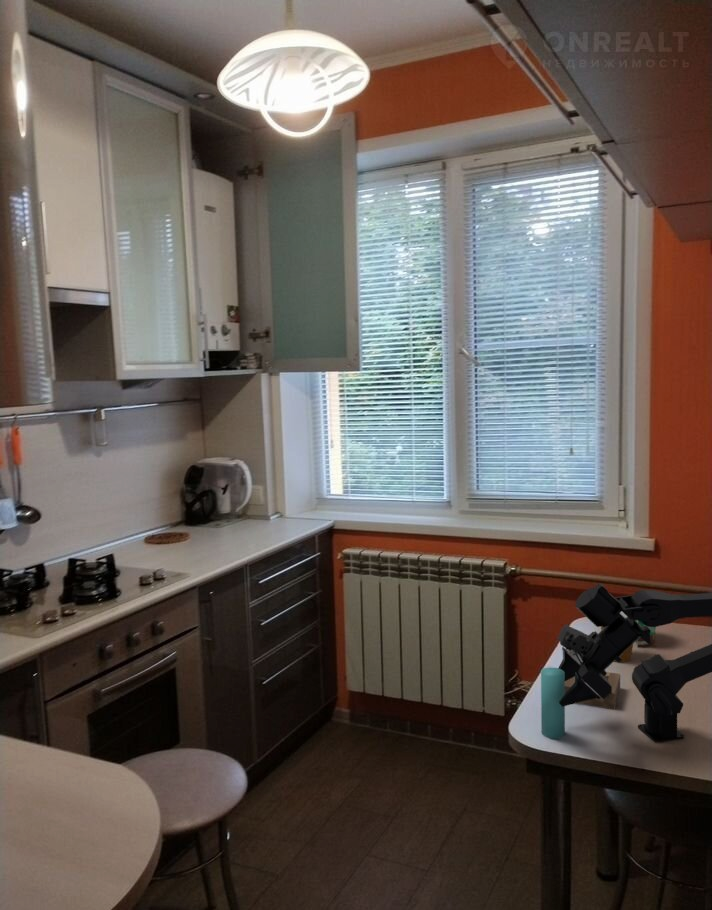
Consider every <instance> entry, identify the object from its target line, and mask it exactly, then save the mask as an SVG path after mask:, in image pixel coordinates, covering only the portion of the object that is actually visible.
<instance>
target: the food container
mask: <svg viewBox="0 0 712 910" xmlns="http://www.w3.org/2000/svg"><path fill="white" fill-rule="evenodd" d="M637 623H639V624H640V625H641V626H645V625H644V624H643V623H642V622H640V621H638V620H637ZM647 627H648V626H647ZM648 628H649V629H650V630H651V632H650V641H651V643H650V644H647V643H646V642H645V641H644V640H643V639H642V638H641V637H640V638H639V639H637V640H636V641H635V642H634V643H635V645H636V647H637V648H649V647H651V646H654V644H655V638H656V630H657V629H656V628H657V627H648Z"/></svg>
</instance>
